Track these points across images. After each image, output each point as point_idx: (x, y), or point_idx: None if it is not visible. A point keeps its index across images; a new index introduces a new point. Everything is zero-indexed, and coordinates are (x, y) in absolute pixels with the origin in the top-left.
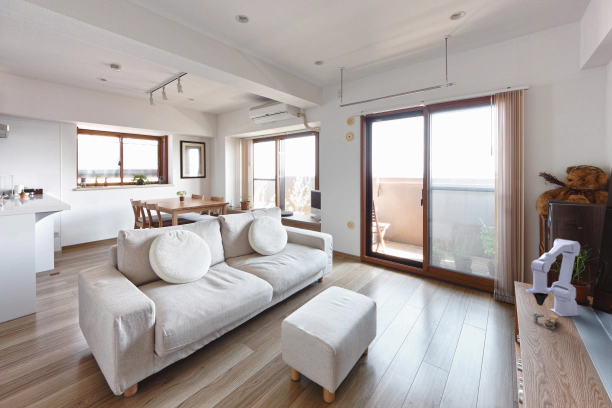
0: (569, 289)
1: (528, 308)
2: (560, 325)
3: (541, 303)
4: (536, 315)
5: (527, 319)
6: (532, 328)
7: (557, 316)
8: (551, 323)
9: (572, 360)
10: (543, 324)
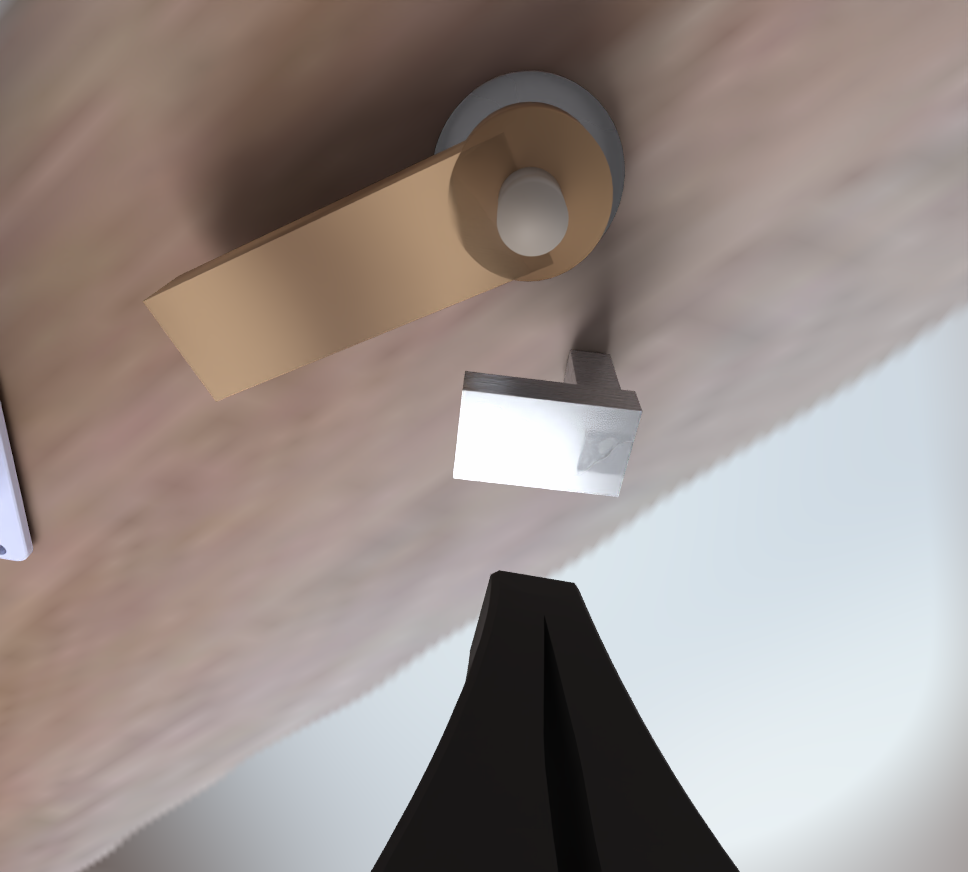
0: None
1: (303, 648)
2: (255, 155)
3: (565, 639)
4: (628, 425)
5: None
6: (844, 244)
7: (152, 310)
8: (554, 121)
9: None
10: None
